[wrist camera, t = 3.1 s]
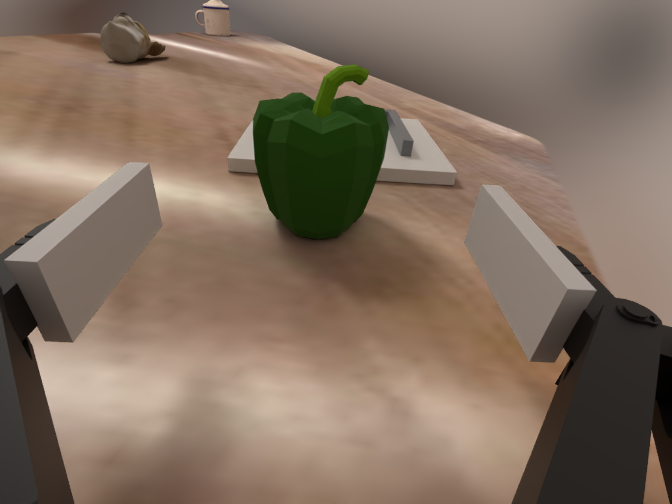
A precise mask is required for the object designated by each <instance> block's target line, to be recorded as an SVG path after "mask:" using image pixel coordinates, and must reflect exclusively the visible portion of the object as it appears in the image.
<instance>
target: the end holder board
mask: <svg viewBox="0 0 672 504" xmlns="http://www.w3.org/2000/svg"><path fill="white" fill-rule="evenodd" d="M384 110H385V113H386V117H387V121H388V125H389V132H388V138H387V144H386V150H385V156H384V160H383V163H382V166H381V169H380V172H379V175H378V177H377V180H376V181H391V182H407V183H423V184H439V185H454V183H455V179H456V175H457V172H456V170H455V169H454V168H453V166H452V165H451V164H450V162H449V161H448V160H447V158H446V157H445V156H444V154H443V153H442V152H441V150H440V149H439V147H438V146H437V145H436V143H435V142H434V141H433V139H432V138H431V137H430V135H429V134H428V133H427V131H426V130H425V128H424V127H423V126H422V124H421V123H420V122H419V120H416V119H402V118H400V117H399V115H398V114H397V112H396V110H387V109H384ZM227 161H228V171H232V172H248V173H258V172H257V169H256V165H255V157H254V143H253V120H252V122H251V123H250V125H249V126H248V128H247V129H246V131H245V132H244V134H243V135H242V137H241V138H240V140H239V141H238V143H237V144H236V146H235V147H234V149H233V150H232V152H231V153H230V155H229V156H228V158H227Z"/></svg>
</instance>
